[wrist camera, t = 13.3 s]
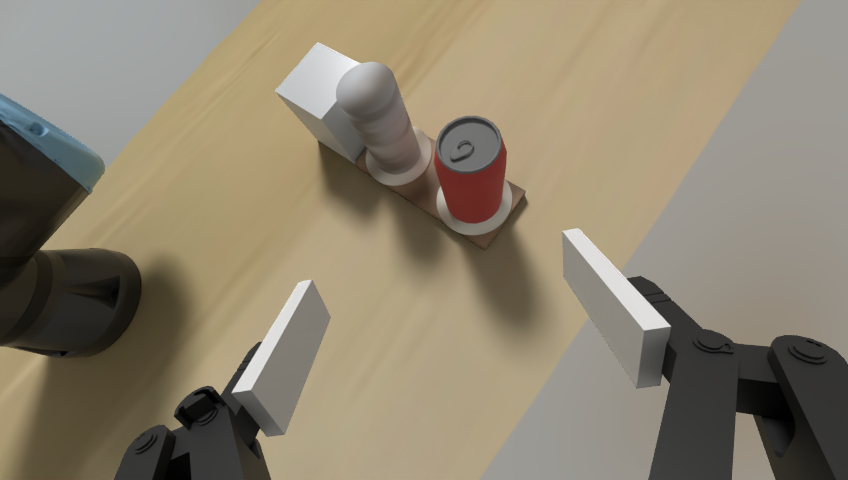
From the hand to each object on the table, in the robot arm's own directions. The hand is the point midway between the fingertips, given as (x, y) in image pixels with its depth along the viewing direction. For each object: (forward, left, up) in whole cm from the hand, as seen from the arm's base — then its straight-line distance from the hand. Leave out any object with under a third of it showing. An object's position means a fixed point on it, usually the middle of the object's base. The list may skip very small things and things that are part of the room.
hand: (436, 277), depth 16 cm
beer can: (-6, +11, -19) cm, 23 cm away
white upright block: (-27, +11, -21) cm, 36 cm away
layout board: (-12, +11, -21) cm, 26 cm away
